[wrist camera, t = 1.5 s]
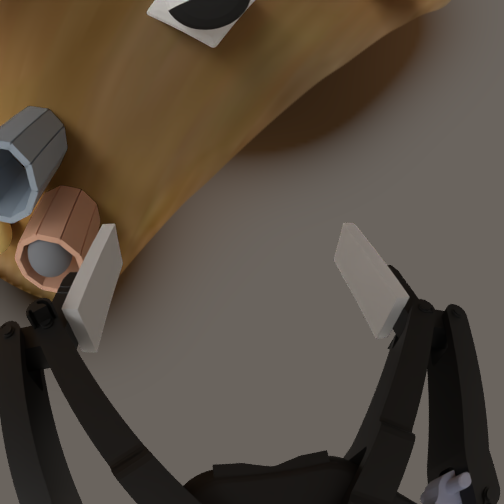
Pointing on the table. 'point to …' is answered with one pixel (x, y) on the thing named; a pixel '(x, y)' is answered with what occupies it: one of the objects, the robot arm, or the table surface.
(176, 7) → the medicine bottle
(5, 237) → the ochre ball
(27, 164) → the slate tube
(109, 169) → the table surface
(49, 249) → the charcoal ball
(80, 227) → the terracotta tube
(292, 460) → the robot arm
